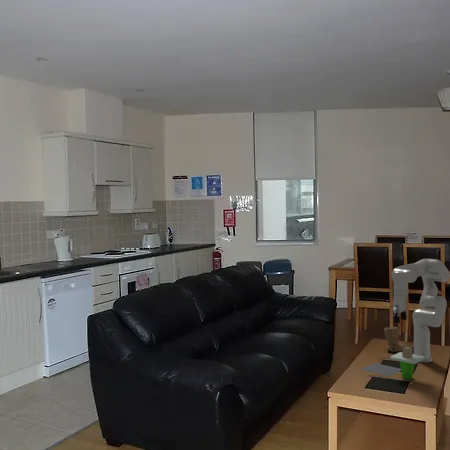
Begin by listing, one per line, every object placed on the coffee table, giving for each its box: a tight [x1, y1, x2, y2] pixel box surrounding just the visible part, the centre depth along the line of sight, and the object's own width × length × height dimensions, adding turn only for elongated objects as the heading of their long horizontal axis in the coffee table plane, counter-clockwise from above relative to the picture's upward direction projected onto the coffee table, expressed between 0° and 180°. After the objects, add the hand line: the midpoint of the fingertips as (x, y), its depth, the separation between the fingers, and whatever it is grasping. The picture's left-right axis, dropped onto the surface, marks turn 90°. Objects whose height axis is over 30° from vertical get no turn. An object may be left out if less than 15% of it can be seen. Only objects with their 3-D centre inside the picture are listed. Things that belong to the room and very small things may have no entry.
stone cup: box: [383, 326, 403, 353], centre depth 354 cm, size 15×12×15 cm
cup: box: [399, 361, 416, 380], centre depth 293 cm, size 9×9×11 cm
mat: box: [360, 362, 401, 377], centre depth 308 cm, size 18×18×1 cm
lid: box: [389, 346, 425, 364], centre depth 293 cm, size 14×14×6 cm
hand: (400, 321), depth 309 cm, fingers open, 9 cm apart
